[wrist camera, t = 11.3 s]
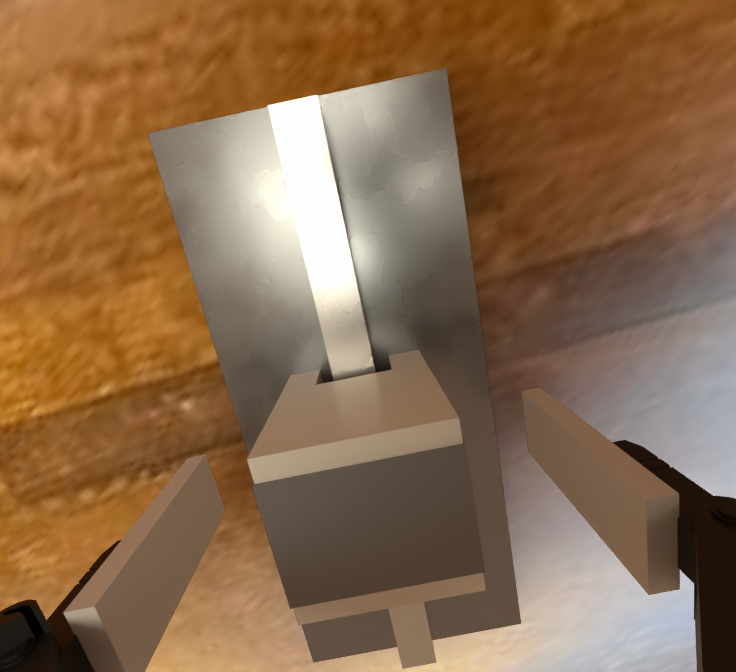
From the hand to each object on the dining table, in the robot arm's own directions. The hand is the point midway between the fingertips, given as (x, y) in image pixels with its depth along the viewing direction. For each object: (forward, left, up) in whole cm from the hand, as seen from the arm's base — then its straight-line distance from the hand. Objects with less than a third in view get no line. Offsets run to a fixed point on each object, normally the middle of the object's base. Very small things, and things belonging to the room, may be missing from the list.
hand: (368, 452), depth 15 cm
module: (0, 0, -3) cm, 3 cm away
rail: (0, 0, -4) cm, 4 cm away
